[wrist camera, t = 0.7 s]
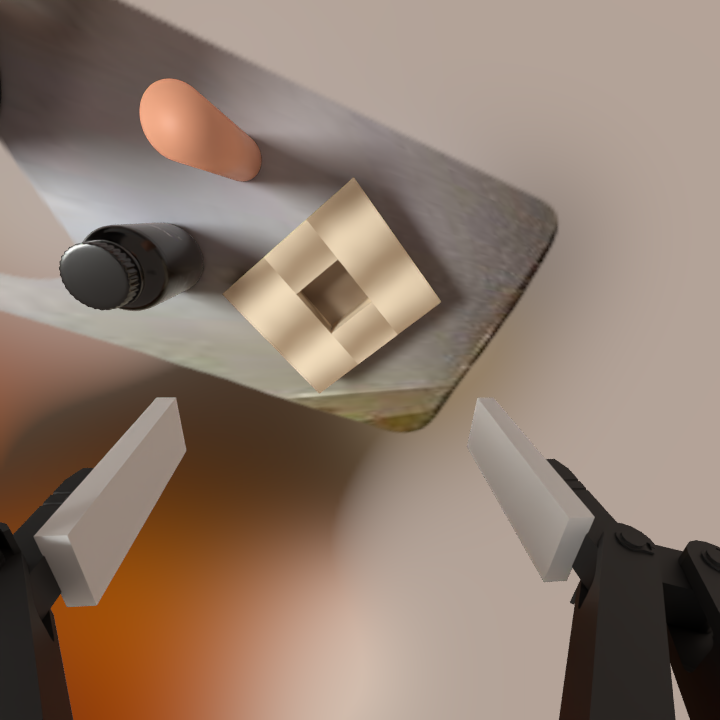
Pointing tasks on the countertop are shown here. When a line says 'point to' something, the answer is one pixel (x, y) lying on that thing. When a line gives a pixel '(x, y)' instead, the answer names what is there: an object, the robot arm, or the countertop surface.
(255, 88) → the countertop surface
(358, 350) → the bore block
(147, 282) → the supplement bottle
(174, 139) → the terracotta dowel
